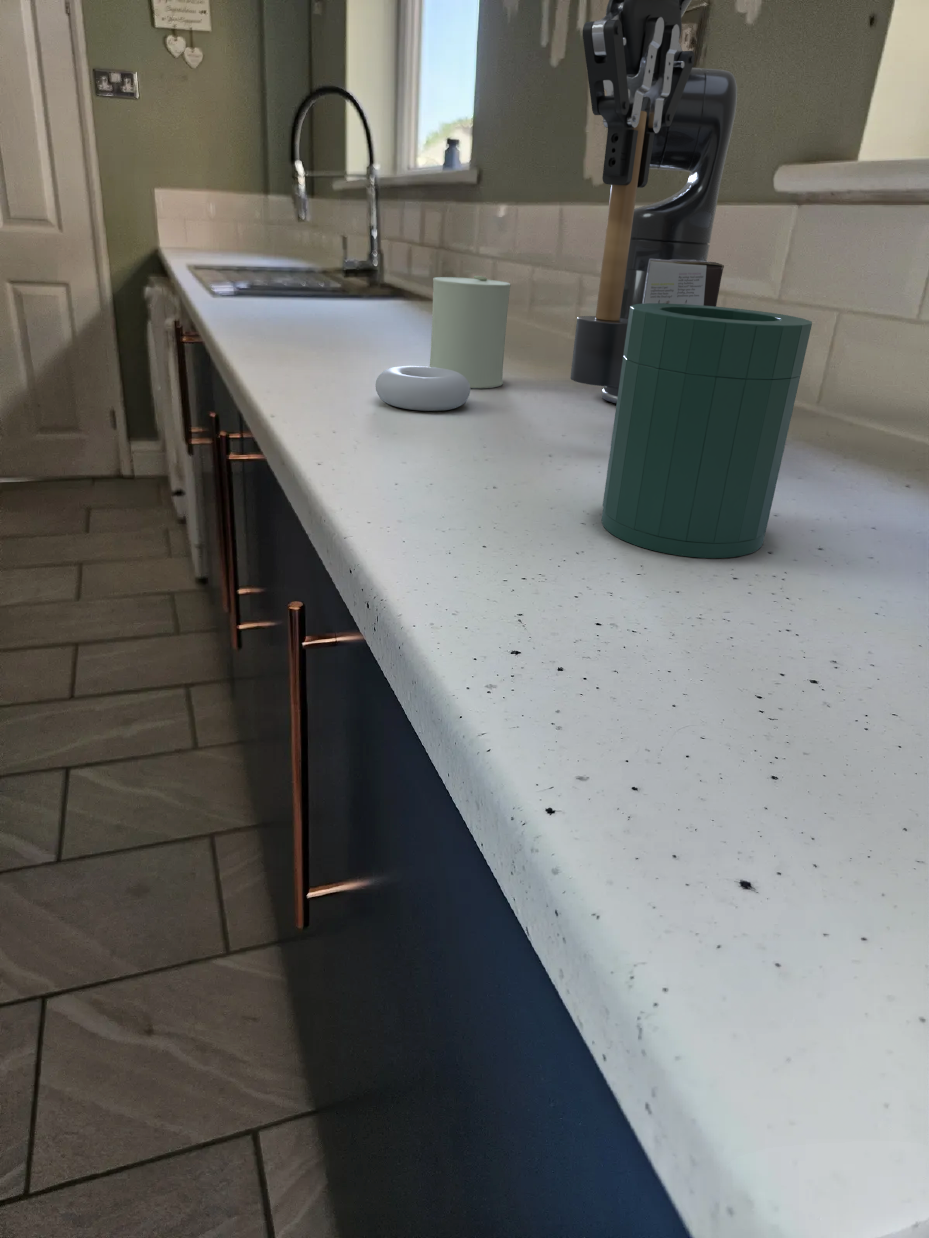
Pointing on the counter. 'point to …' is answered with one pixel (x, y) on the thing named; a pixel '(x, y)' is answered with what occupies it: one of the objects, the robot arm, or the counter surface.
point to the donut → (422, 388)
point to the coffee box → (682, 282)
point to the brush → (609, 290)
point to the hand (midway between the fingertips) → (624, 185)
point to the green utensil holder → (701, 427)
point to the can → (470, 328)
